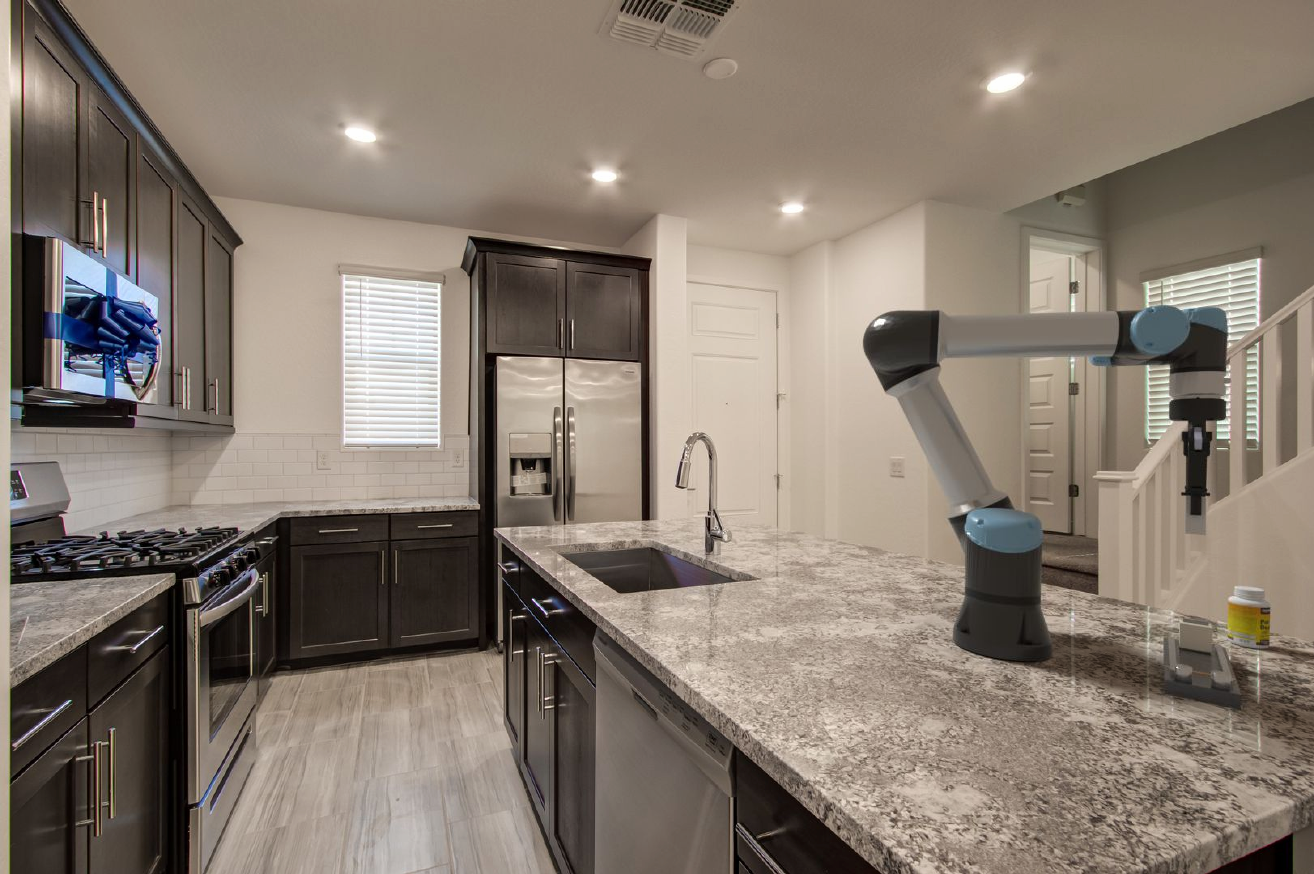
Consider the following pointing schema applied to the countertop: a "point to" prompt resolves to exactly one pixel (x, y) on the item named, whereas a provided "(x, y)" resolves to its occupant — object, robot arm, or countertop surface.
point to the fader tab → (1195, 635)
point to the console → (1200, 674)
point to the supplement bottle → (1249, 618)
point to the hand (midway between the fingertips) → (1194, 533)
